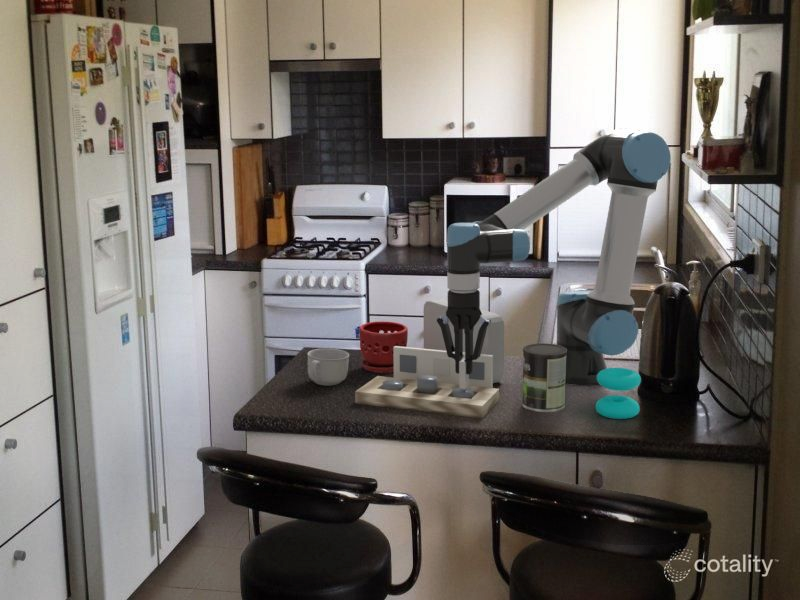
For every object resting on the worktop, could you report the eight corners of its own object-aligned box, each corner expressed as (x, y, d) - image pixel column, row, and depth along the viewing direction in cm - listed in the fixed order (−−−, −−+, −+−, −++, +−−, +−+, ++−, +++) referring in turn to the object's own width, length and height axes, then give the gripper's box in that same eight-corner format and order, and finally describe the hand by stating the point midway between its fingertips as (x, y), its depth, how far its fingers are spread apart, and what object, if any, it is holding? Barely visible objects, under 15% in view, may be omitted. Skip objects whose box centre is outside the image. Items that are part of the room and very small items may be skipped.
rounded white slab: (510, 382, 250) (511, 314, 246) (487, 387, 246) (488, 318, 242) (445, 358, 273) (445, 296, 269) (423, 362, 269) (423, 299, 265)
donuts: (598, 365, 229) (642, 367, 226) (597, 405, 231) (640, 408, 228) (595, 376, 219) (640, 379, 217) (593, 418, 221) (638, 422, 219)
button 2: (475, 400, 232) (476, 388, 231) (469, 406, 228) (469, 394, 227) (456, 398, 234) (456, 386, 233) (449, 404, 229) (449, 392, 229)
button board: (499, 400, 235) (499, 388, 234) (482, 418, 222) (482, 405, 221) (377, 387, 246) (377, 375, 246) (355, 403, 234) (355, 391, 233)
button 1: (406, 392, 239) (406, 380, 238) (398, 398, 234) (398, 386, 233) (387, 390, 240) (387, 378, 240) (379, 396, 236) (379, 384, 235)
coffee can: (524, 412, 226) (525, 354, 223) (520, 399, 236) (521, 343, 233) (568, 412, 226) (569, 354, 223) (562, 399, 236) (563, 343, 233)
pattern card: (494, 391, 242) (495, 353, 240) (489, 397, 237) (489, 358, 235) (398, 381, 251) (397, 344, 249) (391, 386, 247) (390, 348, 245)
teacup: (326, 374, 258) (325, 345, 257) (358, 380, 252) (357, 351, 250) (291, 387, 247) (290, 357, 245) (323, 394, 241) (323, 363, 239)
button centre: (440, 388, 235) (440, 376, 234) (433, 394, 230) (433, 382, 230) (421, 386, 237) (421, 374, 236) (414, 391, 232) (414, 379, 232)
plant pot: (354, 374, 258) (353, 330, 255) (367, 361, 270) (366, 319, 268) (401, 377, 255) (401, 333, 252) (412, 364, 267) (412, 322, 265)
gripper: (495, 288, 226) (494, 384, 231) (442, 285, 231) (443, 379, 236) (485, 294, 219) (485, 393, 224) (431, 291, 224) (433, 388, 229)
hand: (464, 386), depth 230 cm, fingers closed
